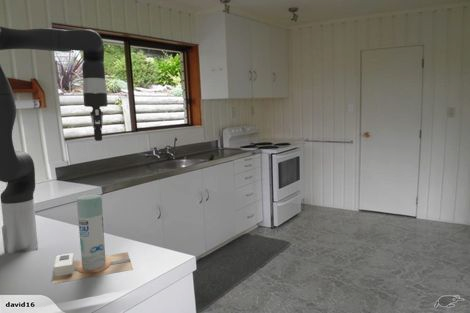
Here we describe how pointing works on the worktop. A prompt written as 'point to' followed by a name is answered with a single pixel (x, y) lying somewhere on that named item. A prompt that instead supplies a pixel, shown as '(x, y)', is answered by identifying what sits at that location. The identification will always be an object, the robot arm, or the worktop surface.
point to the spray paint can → (91, 231)
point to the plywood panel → (111, 266)
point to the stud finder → (64, 264)
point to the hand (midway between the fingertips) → (98, 139)
